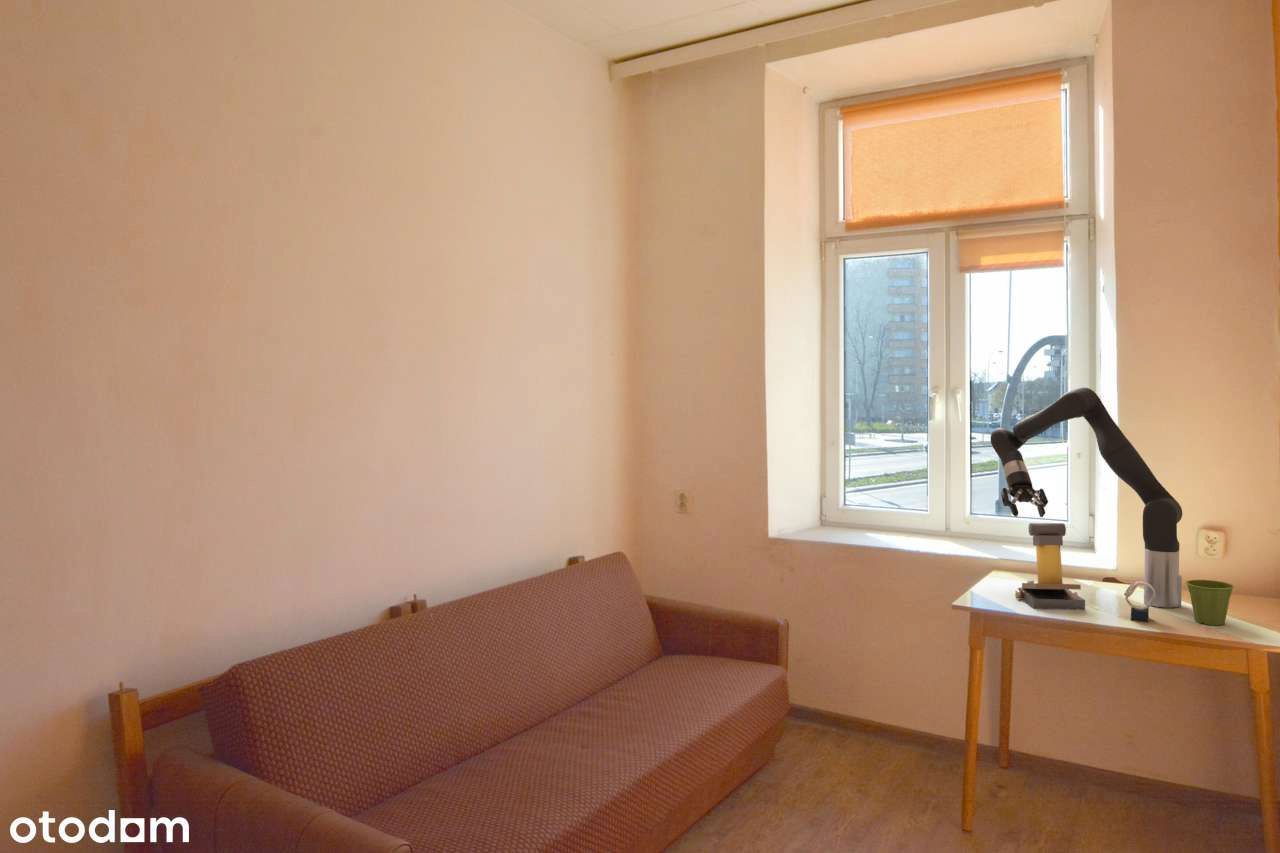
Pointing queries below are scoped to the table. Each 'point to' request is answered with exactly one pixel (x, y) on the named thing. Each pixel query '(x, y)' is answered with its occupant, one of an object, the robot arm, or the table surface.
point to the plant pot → (1210, 600)
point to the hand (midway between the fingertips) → (1029, 515)
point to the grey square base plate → (1051, 598)
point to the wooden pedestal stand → (1048, 556)
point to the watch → (1137, 611)
